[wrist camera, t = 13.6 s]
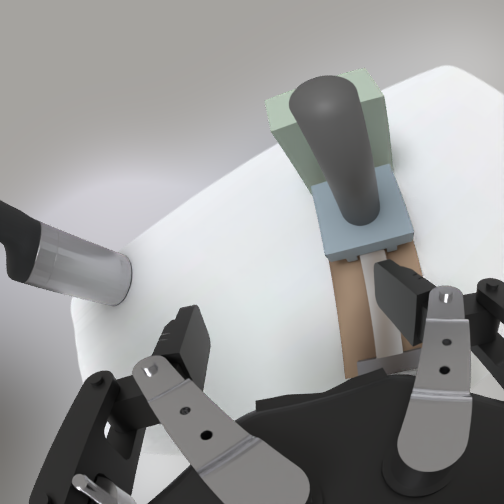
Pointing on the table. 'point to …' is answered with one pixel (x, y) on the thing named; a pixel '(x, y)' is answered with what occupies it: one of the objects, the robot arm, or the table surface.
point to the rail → (360, 305)
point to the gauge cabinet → (297, 144)
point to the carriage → (348, 173)
